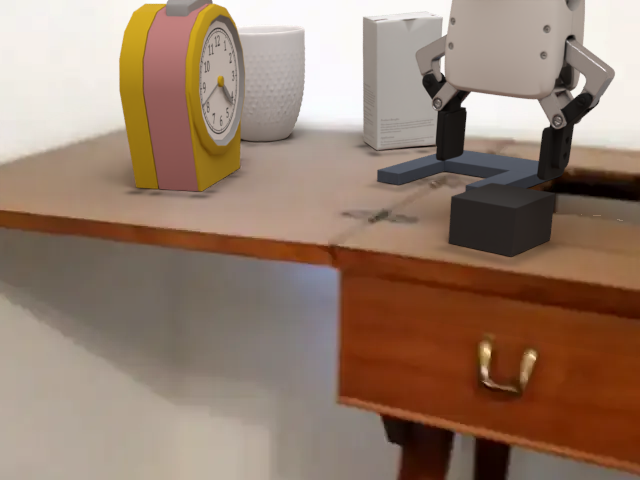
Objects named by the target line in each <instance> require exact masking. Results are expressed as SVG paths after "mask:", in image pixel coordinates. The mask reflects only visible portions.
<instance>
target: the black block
mask: <svg viewBox="0 0 640 480" xmlns="http://www.w3.org/2000/svg"><path fill="white" fill-rule="evenodd" d="M555 199H556V192H550V191H543V190H538V189H532V188H520V187H514V186H508V185H502V184H496V183H490V184H487V185H484V186H481V187H478V188H475V189H472V190H469V191H466V192H465V191H463V192H461V193H458V194H457V193H456V194H455V195H452V196H450V211H449V213H450V214H449V227H448V244H451V245H456V246H461V247H466V248H470V249H474V250H479V251H484V252H488V253H492V254H497V255H501V256H506V257H511V258H512V257H514V256H517V255H519V254H521V253H524V252H526V251H529V250H530V249H533V248H535V247H537V246H539V245H542V244H544V243H546V242H548V241H550V240H551V238H552V237H551V236H552V229H553V220H554V219H553V217H554V209H555Z"/></svg>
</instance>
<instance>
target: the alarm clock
mask: <svg viewBox="0 0 640 480" xmlns="http://www.w3.org/2000/svg"><path fill="white" fill-rule="evenodd" d="M236 26H237V24H236V22H235V20H234V18H233V17H232V16H231V14H230V12H229V10H228V9H227V8H226V7H225V6H222V5H219V4H217V3H213V0H167V1H166V3H144V4H143V5H141V6H140V7H138V8H137V9H135V10H134V11H133V12H132V14H131V16H130V19H129V20H128V23H127V24H126V27H125V29H124V31H123V36H122V41H121V47H120V53H119V58H118V59H119V60H118V76H119V77H118V78H119V80H118V82H119V85H118V87H119V90H118V91H119V96H120V102H121V106H122V107H121V108H122V113H123V118H124V119H123V120H124V126H125V130H126V137H127V142H128V148H129V153H130V160H131V165H132V170H133V176H134V182H135V188H137V189H152V190H153V189H155V190H168V191H169V190H170V191H184V192H185V191H187V192H203V191H205V190H206V189H208V188H210V187H211V186H213V185H214V184H216V183H218V182H219V181H221V180H223V179H224V178H226V177H228V176H229V175H231V174H232V173H234V172H236V171H237V170H239V169H240V168H241V140H242V139H241V116H242V110H243V104H244V98H245V67H244V57H243V49H242V45H241V41H240V38H239V34H238V30H237V27H236Z"/></svg>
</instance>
